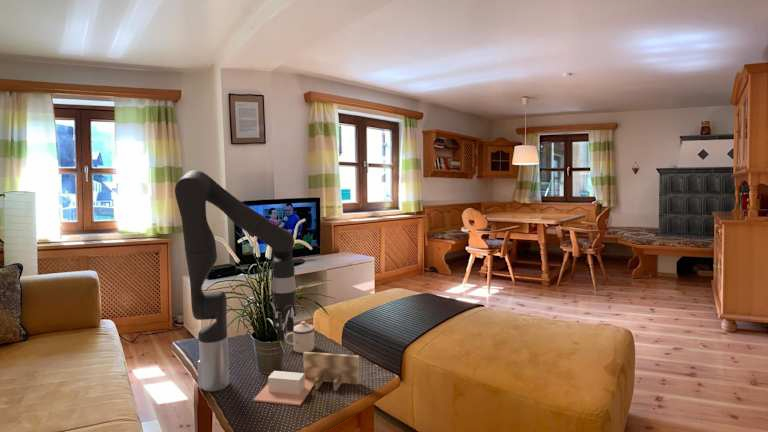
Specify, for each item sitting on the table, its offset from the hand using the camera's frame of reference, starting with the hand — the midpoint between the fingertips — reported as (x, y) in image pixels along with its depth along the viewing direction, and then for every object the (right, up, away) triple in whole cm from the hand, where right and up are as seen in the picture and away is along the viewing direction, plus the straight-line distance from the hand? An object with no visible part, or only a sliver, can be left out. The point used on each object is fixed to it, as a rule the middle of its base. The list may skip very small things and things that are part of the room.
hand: (285, 335), depth 148 cm
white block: (0, -18, 0) cm, 18 cm away
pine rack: (+14, -19, +3) cm, 23 cm away
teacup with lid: (-2, -15, +35) cm, 38 cm away
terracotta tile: (0, -19, 0) cm, 19 cm away
